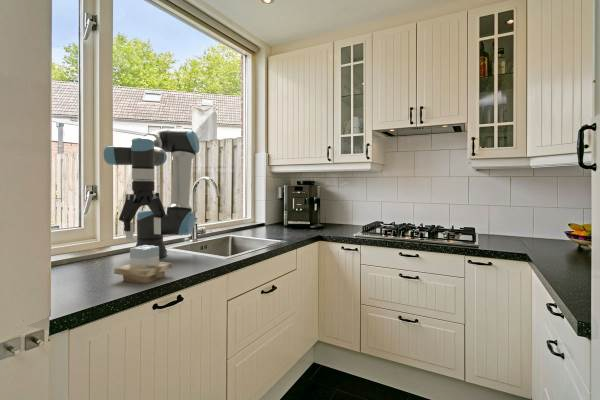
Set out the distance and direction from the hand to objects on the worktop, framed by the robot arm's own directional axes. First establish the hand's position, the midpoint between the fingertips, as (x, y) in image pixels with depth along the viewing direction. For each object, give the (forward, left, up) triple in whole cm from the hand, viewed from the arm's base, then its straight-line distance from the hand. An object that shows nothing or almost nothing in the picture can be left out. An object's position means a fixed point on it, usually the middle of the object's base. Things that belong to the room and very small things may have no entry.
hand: (144, 237), depth 123 cm
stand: (0, 0, -16) cm, 16 cm away
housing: (0, 0, -11) cm, 11 cm away
